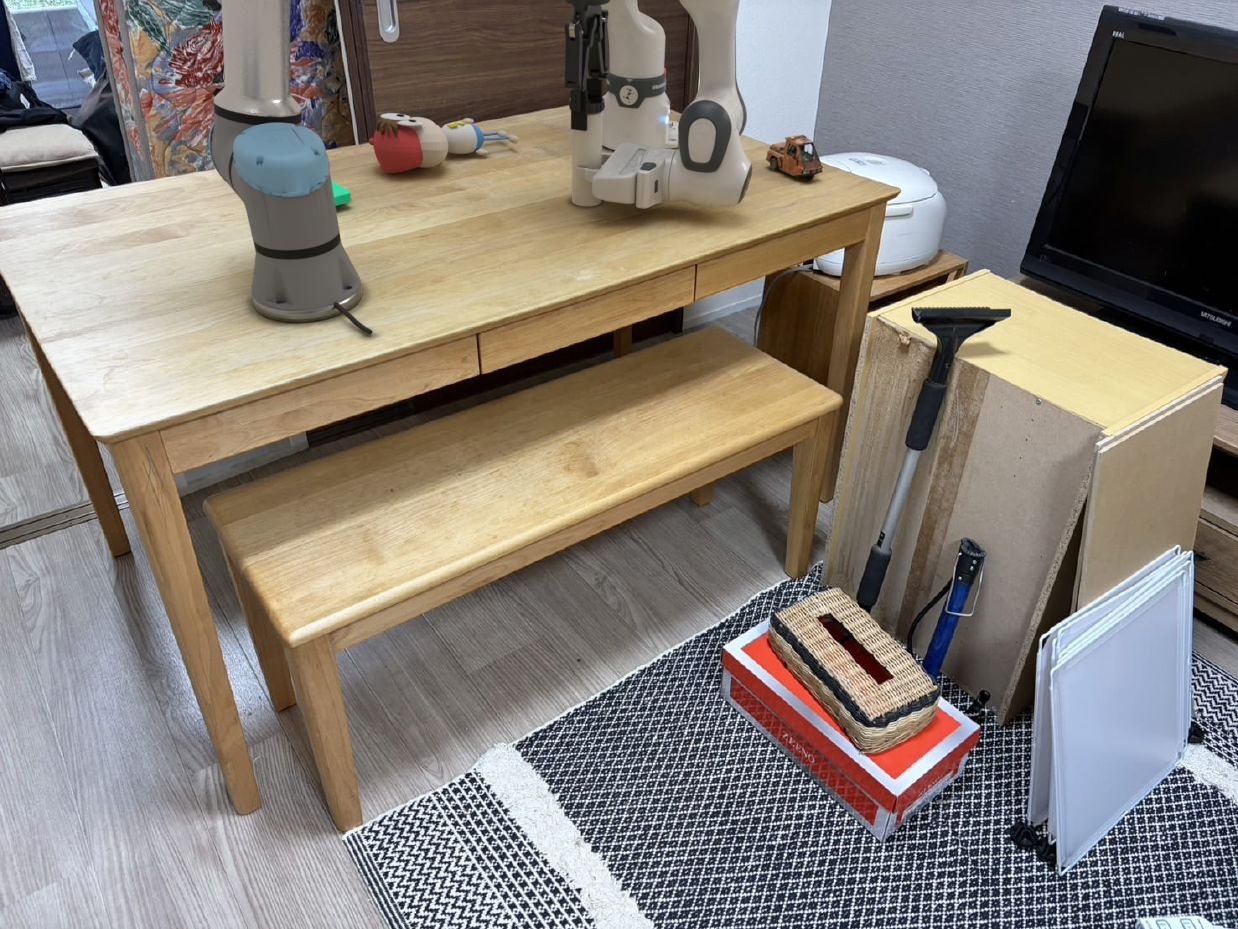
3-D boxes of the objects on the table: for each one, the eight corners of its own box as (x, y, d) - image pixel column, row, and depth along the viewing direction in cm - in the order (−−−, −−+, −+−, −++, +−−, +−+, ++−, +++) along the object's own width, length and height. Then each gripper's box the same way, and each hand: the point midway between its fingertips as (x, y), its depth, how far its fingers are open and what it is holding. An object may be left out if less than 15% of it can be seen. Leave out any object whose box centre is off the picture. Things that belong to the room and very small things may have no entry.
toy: (535, 119, 180) (386, 123, 165) (533, 173, 185) (388, 181, 170) (493, 104, 193) (352, 106, 178) (493, 155, 198) (355, 160, 183)
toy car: (782, 160, 188) (786, 126, 183) (827, 178, 180) (833, 142, 176) (760, 167, 184) (764, 131, 180) (805, 184, 177) (810, 148, 173)
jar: (581, 193, 171) (581, 96, 161) (606, 199, 169) (608, 101, 159) (566, 202, 167) (565, 103, 157) (591, 208, 165) (592, 108, 155)
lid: (562, 110, 157) (562, 101, 156) (579, 101, 161) (579, 92, 161) (594, 115, 155) (594, 106, 154) (610, 106, 160) (610, 97, 159)
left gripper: (587, -37, 154) (587, 106, 168) (540, -18, 140) (544, 137, 153) (630, -33, 152) (625, 111, 166) (587, -13, 138) (586, 143, 152)
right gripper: (671, 138, 168) (598, 130, 170) (644, 175, 152) (564, 166, 155) (669, 172, 172) (597, 164, 174) (642, 212, 156) (564, 202, 158)
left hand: (586, 123), depth 160 cm, fingers open, 6 cm apart
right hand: (581, 165), depth 164 cm, fingers closed on jar, 5 cm apart
